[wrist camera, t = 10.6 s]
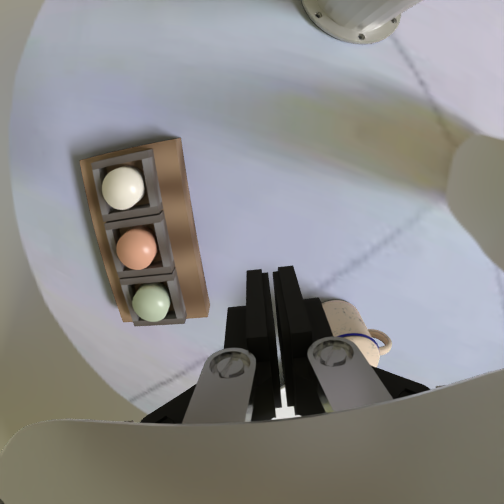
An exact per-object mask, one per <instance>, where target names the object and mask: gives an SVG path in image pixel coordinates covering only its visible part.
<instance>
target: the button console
mask: <svg viewBox="0 0 504 504" xmlns="http://www.w3.org/2000/svg"><path fill="white" fill-rule="evenodd" d="M126 165H130V166H134V167H136V168H138V169H139V170H141V172H142V173H143V174H144V176H145V181H146V187H147V188H146V192H145V195H144V196H143V198H142V199H141V200H140V201H138V202H137V203H136V204H134V205H133V206H132V207H130V208H128V209H125V210H119V209H115V208H113V207H111V206H110V205H109V204H108V203H107V202H106V200H105V199H104V196H103V193H102V184H103V180H104V178H105V177H106V175H107V174H108V173H109V172H111V171H112V170H115V169H117V168H120V167H122V166H126ZM80 166H81V171H82V176H83V182H84V186H85V191H86V196H87V200H88V205H89V209H90V213H91V217H92V222H93V226H94V230H95V233H96V237H97V241H98V245H99V248H100V252H101V255H102V259H103V262H104V266H105V269H106V272H107V276H108V279H109V282H110V285H111V288H112V291H113V294H114V297H115V300H116V303H117V306H118V309H119V312H120V315H121V318H122V320H123V322H133V323H134V326H151V325H169V324H185V320H186V319H188V318H201V317H208V313H209V308H210V302H209V297H208V292H207V287H206V282H205V277H204V272H203V267H202V262H201V257H200V251H199V246H198V240H197V235H196V229H195V224H194V218H193V212H192V206H191V200H190V194H189V188H188V182H187V176H186V169H185V163H184V156H183V149H182V142H181V138H178V139H172V140H167V141H161V142H156V143H151V144H146V145H141V146H137V147H132V148H127V149H123V150H119V151H114V152H110V153H106V154H102V155H98V156H94V157H90V158H87V159H83V160H80ZM134 226H145V227H147V228H149V229H151V230H152V231H153V232H154V233H155V235H156V236H157V241H158V245H159V249H158V252H157V254H156V256H155V257H154V259H153V260H152V262H151V263H150V265H149V266H147V267H146V268H144V269H141V270H134V269H130V268H128V267H126V266H125V265H124V264H123V263H122V262H121V261H120V259H119V258H118V255H117V251H116V247H117V243H118V240H119V239H120V238H121V237H122V236H123V235H124V234H125V233H126V232H127V231H128V230H129V229H130V228H132V227H134ZM153 282H160V283H162V284H164V285H165V286H166V287H167V288H168V289H169V291H170V295H171V299H172V301H171V304H170V307H169V309H168V312H167V314H166V316H165V317H164V318H163V319H162V320H160V321H157V322H150V321H146V320H144V319H142V318H141V317H139V316H138V315H137V314H136V312H135V311H134V309H133V305H132V301H133V297H134V296H135V294H136V292H137V291H138V289H139V287H140V286H141V285H142V284H143V283H153Z"/></svg>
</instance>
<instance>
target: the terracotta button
mask: <svg viewBox="0 0 504 504" xmlns="http://www.w3.org/2000/svg"><path fill="white" fill-rule="evenodd" d="M158 249H159V245H158V241H157V236H156V235H155V233H154V232H153V231H152V230H151V229H149V228H147V227H145V226H134V227H132V228H130V229H129V230H128V231H127V232H126V233H125V234H124V235H123V236H122V237H121V238H120V239H119V240H118V243H117V247H116V251H117V255H118V258H119V259H120V261H121V262H122V263H123V264H124V265H125V266H126V267H128V268H130V269H134V270H141V269H144V268H146V267H147V266H149V265H150V263H151V262H152V260H153V259H154V257H155V256H156V254H157V252H158Z"/></svg>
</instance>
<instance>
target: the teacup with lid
mask: <svg viewBox="0 0 504 504" xmlns="http://www.w3.org/2000/svg"><path fill="white" fill-rule="evenodd" d="M322 306H323V309H324V311H325V314H326V317H327V320H328V322H329V325H330V328H331V330H332V333H333V336H334V337H342V338H346V339H348V340H350V341H352V342H354V343H355V344H356V345H357V347H358V348H359V349H360V351H361V352H362V354H363V355H364V357H365V358H366V360H367V361H368V363H369V364H370V365H371V366H374V367H377V365H378V362H379V358H380V355H384V354H386V353H388V352H389V351H390V349H391V346H392V342H391V339H390V338H389V337H388V336H387V335H386V334H385V333H383V332H381V331H379V330H374V329H367V327H366V325H365V323H364V322H363V320H362V318H361V316H360V314H359V312H358V310H357V309H356V308H355V307H354V306H353V305H352V304H350V303H348V302H345V301H341V300H332V301H327V302H324V303H322ZM372 337H373V338H377V339H379V340H380V341H382V342H383V343H384V344H385V346H383V347H378V345H377V343H376V342H375V340H374V339H372Z"/></svg>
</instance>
